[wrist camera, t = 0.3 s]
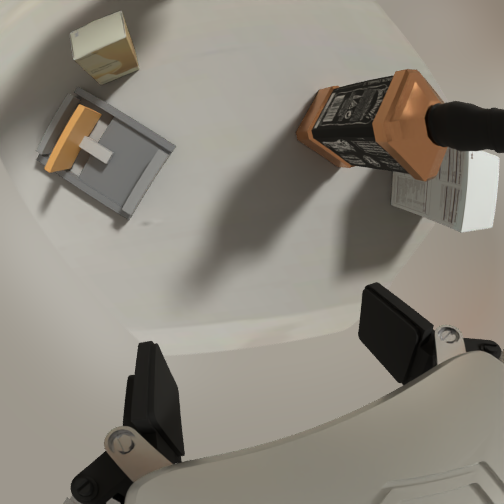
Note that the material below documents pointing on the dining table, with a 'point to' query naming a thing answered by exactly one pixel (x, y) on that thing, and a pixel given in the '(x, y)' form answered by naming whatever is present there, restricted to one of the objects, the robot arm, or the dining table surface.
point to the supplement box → (453, 191)
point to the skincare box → (104, 48)
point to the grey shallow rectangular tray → (121, 164)
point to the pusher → (77, 141)
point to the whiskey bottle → (396, 125)
